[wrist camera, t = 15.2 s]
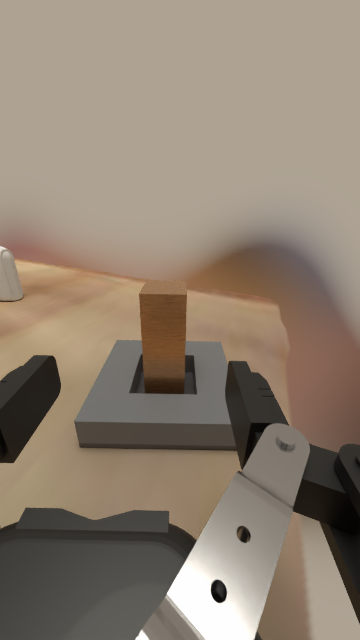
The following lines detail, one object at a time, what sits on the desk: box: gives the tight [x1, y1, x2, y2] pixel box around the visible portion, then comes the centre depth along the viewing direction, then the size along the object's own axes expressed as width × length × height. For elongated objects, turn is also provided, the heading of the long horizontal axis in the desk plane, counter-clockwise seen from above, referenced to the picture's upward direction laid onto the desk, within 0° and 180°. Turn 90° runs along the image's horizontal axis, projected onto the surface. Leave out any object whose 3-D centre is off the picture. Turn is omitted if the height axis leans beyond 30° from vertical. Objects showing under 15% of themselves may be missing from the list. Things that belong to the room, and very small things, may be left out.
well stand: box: [74, 340, 237, 450], centre depth 27 cm, size 14×14×3 cm
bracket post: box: [139, 281, 187, 394], centre depth 25 cm, size 4×4×12 cm
